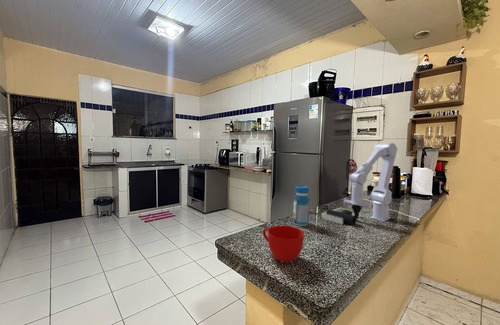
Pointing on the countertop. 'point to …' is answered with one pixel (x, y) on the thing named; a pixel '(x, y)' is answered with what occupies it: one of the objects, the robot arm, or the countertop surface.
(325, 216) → the aluminium bracket
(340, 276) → the countertop surface
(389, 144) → the robot arm
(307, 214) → the beverage bottle
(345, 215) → the pipe connector
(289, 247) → the ceramic cup
